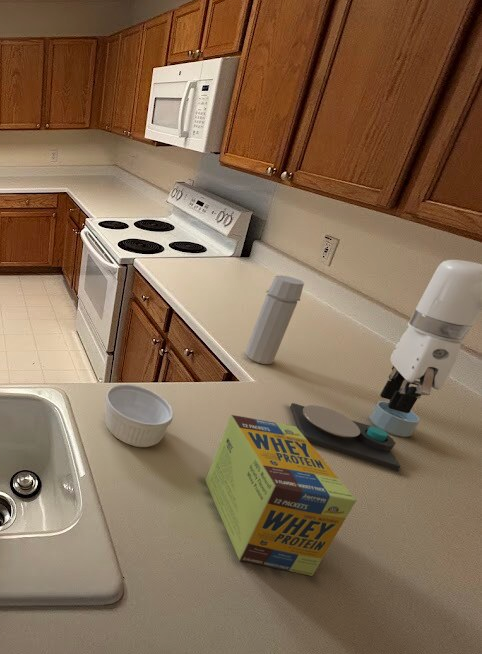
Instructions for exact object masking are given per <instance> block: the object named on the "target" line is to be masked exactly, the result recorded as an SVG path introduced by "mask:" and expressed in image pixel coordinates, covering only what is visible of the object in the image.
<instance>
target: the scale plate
mask: <svg viewBox="0 0 482 654" xmlns="http://www.w3.org/2000/svg"><path fill="white" fill-rule="evenodd" d="M303 414H304V416H305V417H306V418H307V419H308V420H309V421H310V422H311V423H312V424H314V425H315V426H317V427H319V428H320V429H322V430H324V431H327V432H329V433H331V434H334V435H337V436H341V437H346V438H355V437H358V436H359V435H360V429H359V427H358V426H357V425H356V424H355V423H354V422H353V421H354V420H352V419H351V418H349V417H347V416H345V415H344V414H342V413H340V412H338V411H336V410H333V409H330V408H327V407H325V406H320V405H313V404H312V405H311V404H310V405H305V407H304V408H303ZM351 420H352V421H351Z"/></svg>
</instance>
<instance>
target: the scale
mask: <svg viewBox="0 0 482 654" xmlns="http://www.w3.org/2000/svg"><path fill="white" fill-rule="evenodd" d="M305 406H306V405H305ZM305 406H304V405H301V404H298V403H294V402H291V404H290V406H289V408H290V409H289V410H290V411H291V414H292V417H293V420H294V423H295V426H296V427H297V428H298V429H299V431H300V432H301V433H302V434H303V435H304V437H305V438H306V439H307V440H308V442H309V443H310V444H311V445H314V446H317V447H320V448H323V449H325V450H330V451H333V452H336V453H339V454H342V455H345V456H347V457H352V458H353V459H358V460H360V461H364V462H367V463H370V464H373V465H376V466H380V467H382V468H385V469H389V470H392V471H395V472H399V470H400V468H401V465H400V463H399V462H398V460H397V458H396V457H395V455H394V453H393V452H392V450H393V449H394V447H395V445H396V441H395V440H394V438H392V437H391V436H390V434H388V436H387V438H386V440H385V441H384V442H382V441H379V440H376V439H374V438H372V437H370V436H369V435H368V434H367V431H368V429H369V427H370V426H371V425H369V424H367V423H362V422H358V421H356V420H352V419H350V420H351V421H353V422H354V423H355V424H356V425H357V426H358V427H359V429H360V435H359V436H358V437H355V438H346V437H341V436H337V435H334V434H331V433H329V432H327V431H324V430H322V429H320V428H319V427H317V426H315V425H314V424H312V423H311V422H310V421H309V420H308V419H307V418H306V417H305V416H304V414H303V408H304V407H305Z"/></svg>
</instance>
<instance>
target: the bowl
mask: <svg viewBox="0 0 482 654" xmlns="http://www.w3.org/2000/svg"><path fill="white" fill-rule="evenodd" d="M389 402H390V401H386V400H379V401H377V402H376V404H375V406H374V407H373V409H372V411H371V412H370V414H369V417H368V419H369V420H370V422H371V423H372V424H373V425H374V427H378V428H380V429H382V430H384V431H385V432H387V434H389V435H393V436H396V437H403V438H404V437H406V438H407V437H411V436H412V435H413V433H414V432H415V430H416V428H417V427H418V425H419V423H420V422H421V418H420V417H419V416H418V414H416V413H415V412H414V411H412V410H411V411H410V412H409V413H404V412H401V411H397V410H393V409H390V408H389V407H388V404H389Z"/></svg>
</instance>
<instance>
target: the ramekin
mask: <svg viewBox="0 0 482 654" xmlns="http://www.w3.org/2000/svg"><path fill="white" fill-rule="evenodd" d="M104 401H105V408H104V421H105V425H106V428H108V430H109V432H110V433H111V434H112V435H113V436H114V437H115V438H116V439H118V440H119V441H121V442H122V443H125V444H127V445H128V446H129V445H130V446H133V447H136V448H149V447H153V446H155V445H157V444H159V443H160V442H161V440H162V439H163V438H164V436H165V434H166V432H167V430H168V428H169V427H170V425H171V424H172V423H173V422H172V421H173V419H174V411H173V407H172V405H171V404H170V403H169V402H168V401H167V400H166V399H165V398H164V397H163V396H161V395H160V394H158V393H157V392H155V391H153V390H152V389H149V388H146V387H144V386H140V385H136V384H130V383H121V384H116V385H113V386H112V387H110V388H108V390H107V392H106V395H105V400H104Z"/></svg>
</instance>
